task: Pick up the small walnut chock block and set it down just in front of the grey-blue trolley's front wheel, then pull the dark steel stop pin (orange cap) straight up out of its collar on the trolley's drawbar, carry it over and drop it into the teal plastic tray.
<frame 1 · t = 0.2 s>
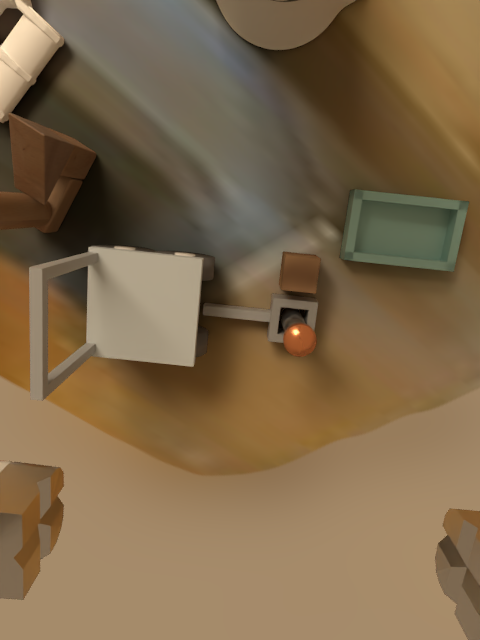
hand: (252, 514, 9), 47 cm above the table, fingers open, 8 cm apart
walnut chock: (296, 269, 55), on the table
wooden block: (65, 185, 54), on the table
tray: (398, 230, 54), on the table
stop pin: (290, 316, 57), resting in trolley
trolley: (157, 294, 56), on the table
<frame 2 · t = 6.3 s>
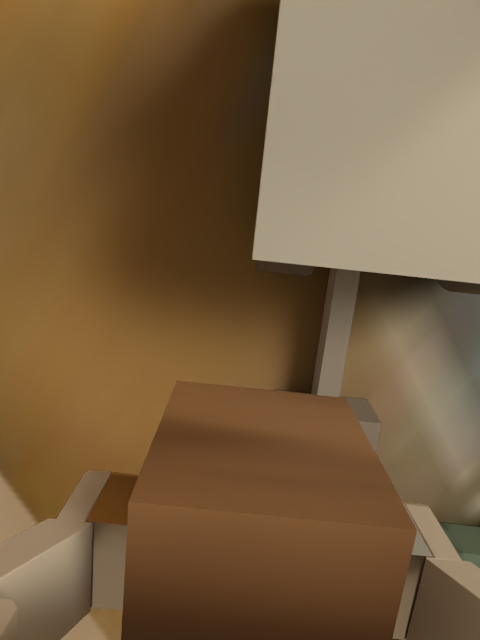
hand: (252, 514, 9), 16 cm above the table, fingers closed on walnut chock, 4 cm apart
walnut chock: (252, 465, 11), point 15 cm above the table, touching gripper
tray: (470, 612, 30), on the table
trolley: (382, 135, 23), on the table
when the fingers open (3 cm above the table, at t = 9.0 s): walnut chock stays where it is, on the table.
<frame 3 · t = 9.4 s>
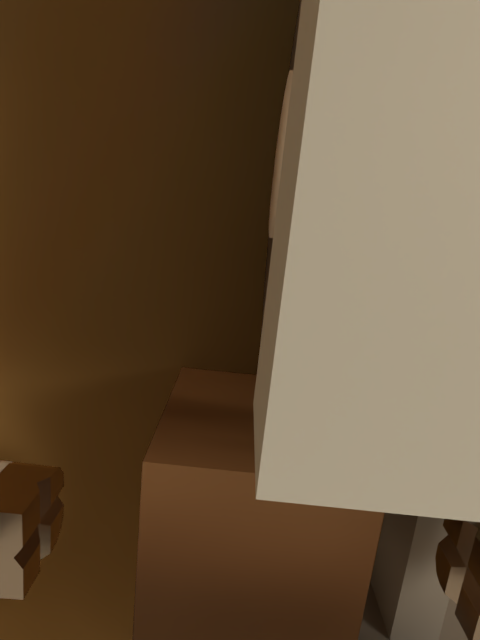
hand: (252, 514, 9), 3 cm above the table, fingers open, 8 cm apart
walnut chock: (250, 444, 12), on the table
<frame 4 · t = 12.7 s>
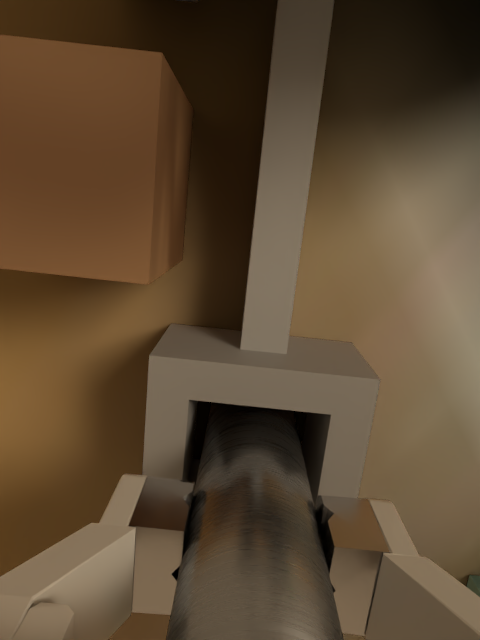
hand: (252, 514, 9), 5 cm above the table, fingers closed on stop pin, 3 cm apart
walnut chock: (116, 180, 12), on the table
stop pin: (251, 415, 14), resting in trolley, touching gripper
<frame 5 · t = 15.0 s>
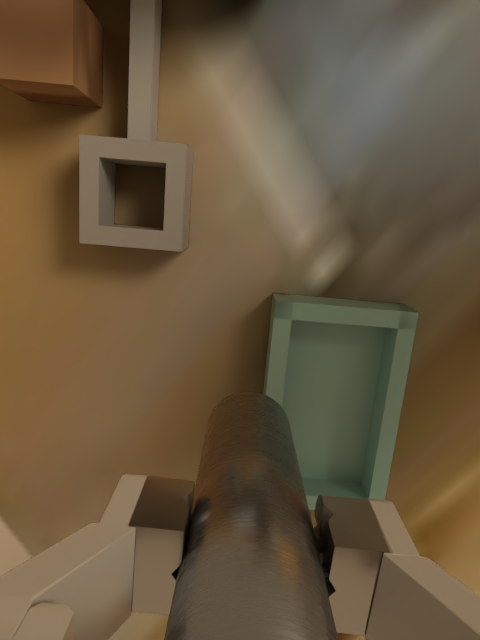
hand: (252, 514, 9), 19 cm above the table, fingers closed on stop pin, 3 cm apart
walnut chock: (66, 64, 24), on the table
tray: (324, 397, 29), on the table
stop pin: (248, 430, 14), point 14 cm above the table, touching gripper
when the fingers open (7 cm above the table, at t = 17.6 s): stop pin drops 2 cm, resting on tray.
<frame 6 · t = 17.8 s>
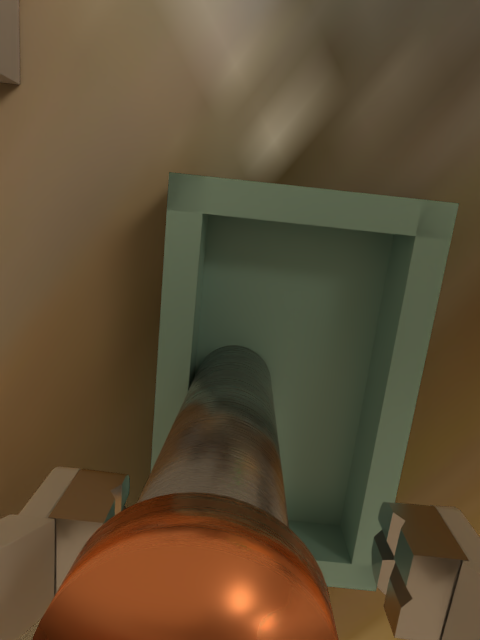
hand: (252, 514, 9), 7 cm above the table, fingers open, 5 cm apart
tray: (278, 376, 16), on the table
stop pin: (233, 381, 16), point 1 cm above the table, touching tray
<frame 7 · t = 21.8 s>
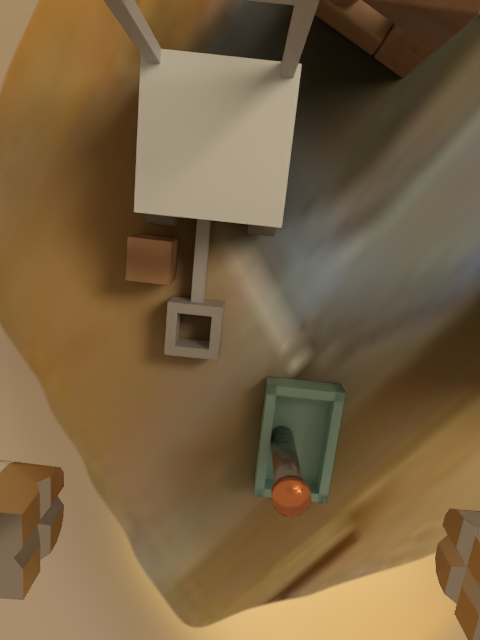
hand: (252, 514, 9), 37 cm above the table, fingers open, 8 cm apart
walnut chock: (157, 256, 45), on the table
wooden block: (366, 27, 40), on the table
tray: (295, 434, 50), on the table
stop pin: (281, 436, 49), point 1 cm above the table, touching tray
trolley: (221, 154, 43), on the table
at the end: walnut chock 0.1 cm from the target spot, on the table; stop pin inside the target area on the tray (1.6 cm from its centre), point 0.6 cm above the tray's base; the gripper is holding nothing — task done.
